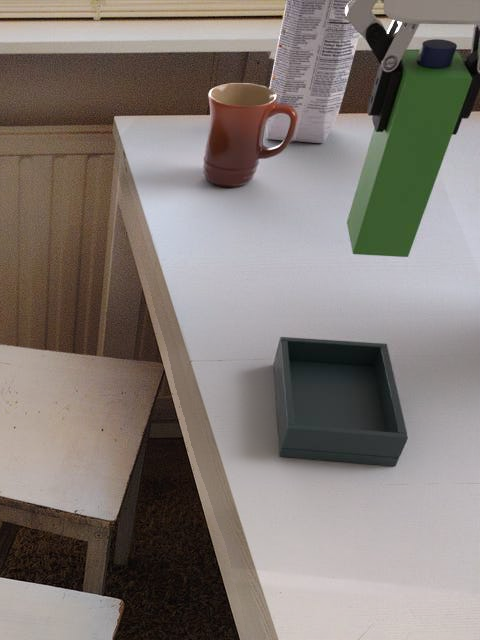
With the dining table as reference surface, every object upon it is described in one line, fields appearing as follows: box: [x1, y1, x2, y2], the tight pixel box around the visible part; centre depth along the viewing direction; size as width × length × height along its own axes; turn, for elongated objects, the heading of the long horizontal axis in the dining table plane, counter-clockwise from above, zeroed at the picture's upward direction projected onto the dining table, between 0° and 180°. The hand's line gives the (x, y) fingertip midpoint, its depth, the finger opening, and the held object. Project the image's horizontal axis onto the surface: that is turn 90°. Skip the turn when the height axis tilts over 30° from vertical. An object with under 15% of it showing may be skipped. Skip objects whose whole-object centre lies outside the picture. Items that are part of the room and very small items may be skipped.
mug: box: [202, 82, 298, 188], centre depth 110 cm, size 12×9×10 cm
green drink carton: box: [346, 38, 472, 258], centre depth 66 cm, size 6×4×14 cm
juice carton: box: [265, 0, 361, 144], centre depth 114 cm, size 9×10×27 cm
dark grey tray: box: [272, 336, 409, 467], centre depth 79 cm, size 15×10×3 cm
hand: (413, 124), depth 64 cm, fingers closed on green drink carton, 4 cm apart
